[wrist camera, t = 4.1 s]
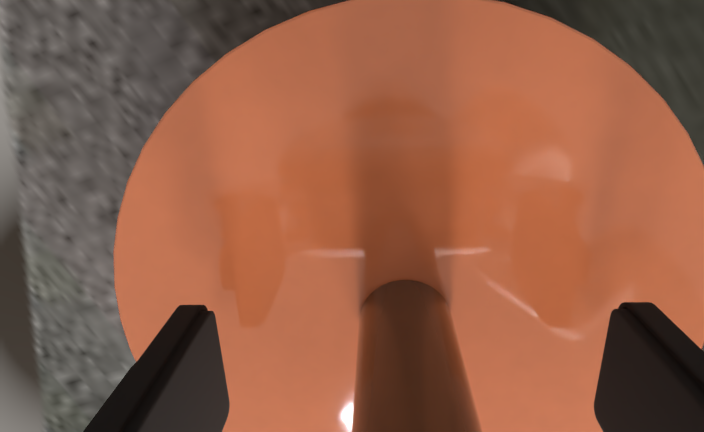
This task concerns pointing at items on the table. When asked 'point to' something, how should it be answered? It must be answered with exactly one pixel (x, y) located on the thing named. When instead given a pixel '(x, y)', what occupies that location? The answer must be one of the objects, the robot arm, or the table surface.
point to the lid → (413, 219)
